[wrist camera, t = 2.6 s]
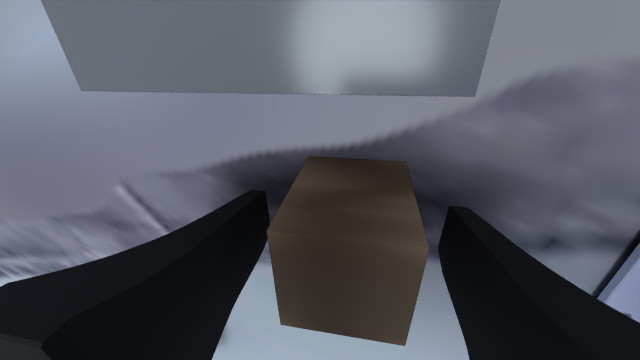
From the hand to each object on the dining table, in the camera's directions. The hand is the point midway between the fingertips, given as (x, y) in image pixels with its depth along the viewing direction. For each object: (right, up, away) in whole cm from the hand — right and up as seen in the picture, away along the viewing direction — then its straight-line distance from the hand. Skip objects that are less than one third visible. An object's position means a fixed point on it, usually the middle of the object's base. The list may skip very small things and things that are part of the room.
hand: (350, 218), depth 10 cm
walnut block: (0, +1, +1) cm, 2 cm away
